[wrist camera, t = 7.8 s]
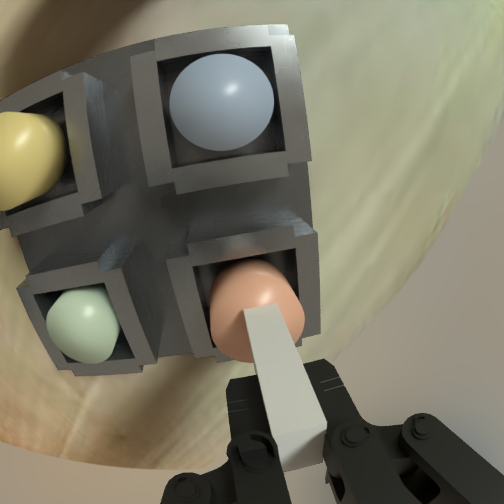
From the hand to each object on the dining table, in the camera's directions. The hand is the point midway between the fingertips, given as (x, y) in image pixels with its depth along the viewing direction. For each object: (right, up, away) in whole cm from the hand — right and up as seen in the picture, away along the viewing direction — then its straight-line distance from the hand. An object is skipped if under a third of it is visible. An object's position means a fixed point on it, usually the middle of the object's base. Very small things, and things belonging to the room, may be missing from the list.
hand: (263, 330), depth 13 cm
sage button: (-11, 0, +4) cm, 11 cm away
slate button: (-2, +11, +1) cm, 11 cm away
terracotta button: (-1, +1, +3) cm, 3 cm away
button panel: (-7, +6, +4) cm, 10 cm away
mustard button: (-12, +9, -2) cm, 15 cm away
